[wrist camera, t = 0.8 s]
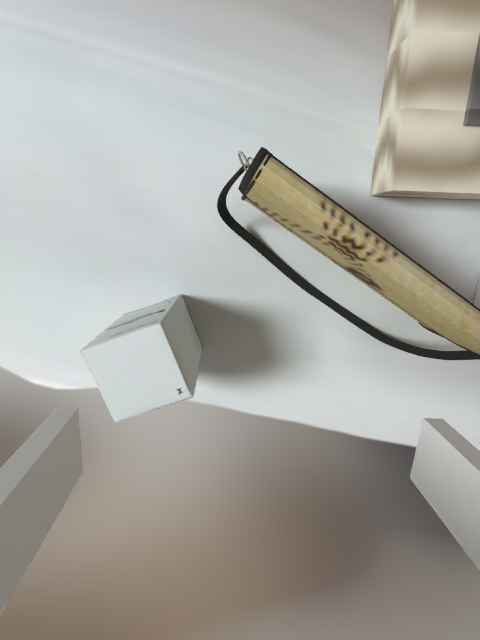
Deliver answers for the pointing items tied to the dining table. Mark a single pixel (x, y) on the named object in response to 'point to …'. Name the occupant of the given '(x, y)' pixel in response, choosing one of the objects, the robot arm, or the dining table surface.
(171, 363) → the supplement box
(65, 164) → the dining table surface
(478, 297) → the rubber mat
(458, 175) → the block
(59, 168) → the dining table surface
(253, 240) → the clutch purse
